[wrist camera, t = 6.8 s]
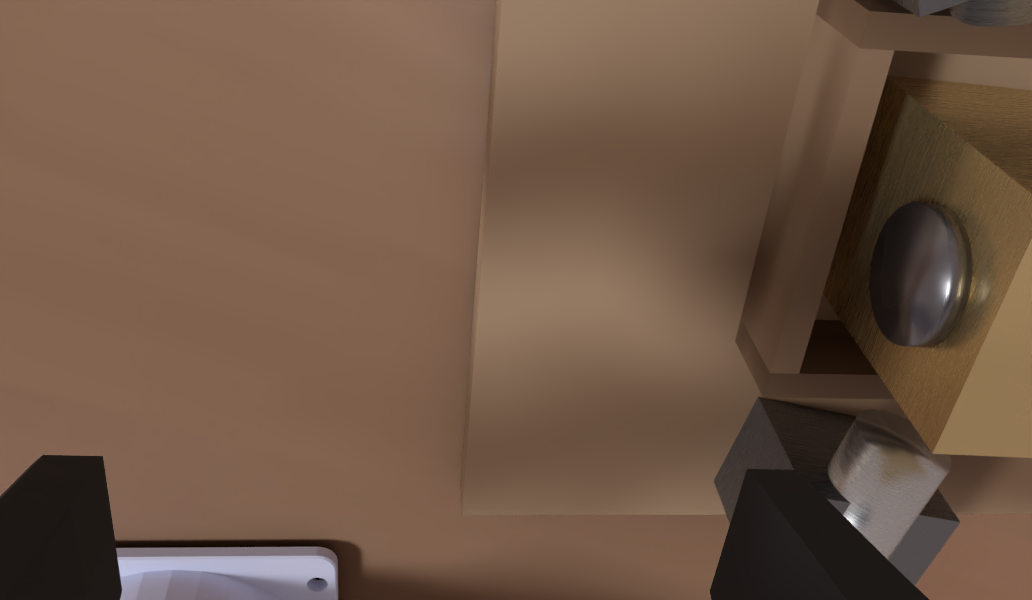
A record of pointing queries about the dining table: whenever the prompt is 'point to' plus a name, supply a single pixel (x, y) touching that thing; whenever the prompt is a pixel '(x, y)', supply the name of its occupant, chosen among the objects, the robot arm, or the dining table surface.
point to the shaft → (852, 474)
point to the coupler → (945, 262)
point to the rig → (683, 240)
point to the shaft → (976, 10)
